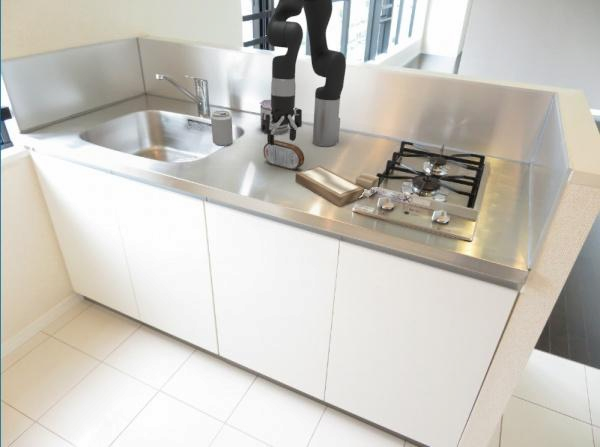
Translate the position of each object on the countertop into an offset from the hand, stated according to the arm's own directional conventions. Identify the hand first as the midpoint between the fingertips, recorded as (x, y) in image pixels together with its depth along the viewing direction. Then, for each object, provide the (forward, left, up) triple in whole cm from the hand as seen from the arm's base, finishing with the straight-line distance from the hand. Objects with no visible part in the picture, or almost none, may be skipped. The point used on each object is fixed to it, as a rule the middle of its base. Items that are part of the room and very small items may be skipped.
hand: (281, 142), depth 137 cm
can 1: (+6, -30, -9) cm, 31 cm away
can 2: (-18, -30, -9) cm, 36 cm away
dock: (-1, +22, -8) cm, 24 cm away
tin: (0, 0, -9) cm, 9 cm away
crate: (-10, +30, -9) cm, 33 cm away
